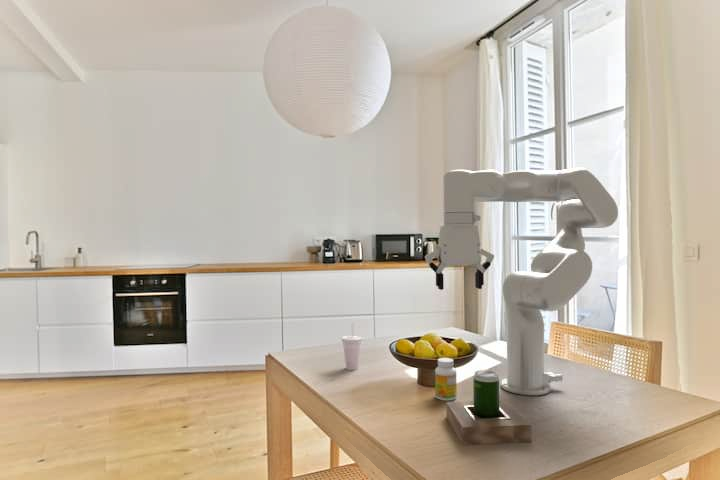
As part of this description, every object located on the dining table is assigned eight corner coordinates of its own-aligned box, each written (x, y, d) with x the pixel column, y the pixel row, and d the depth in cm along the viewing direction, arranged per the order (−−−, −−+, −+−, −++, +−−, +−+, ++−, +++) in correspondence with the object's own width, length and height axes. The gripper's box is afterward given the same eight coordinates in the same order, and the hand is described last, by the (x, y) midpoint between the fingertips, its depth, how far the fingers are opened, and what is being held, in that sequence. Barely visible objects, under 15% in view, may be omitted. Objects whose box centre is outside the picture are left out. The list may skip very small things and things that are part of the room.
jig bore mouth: (497, 405, 107) (497, 404, 107) (510, 419, 99) (510, 418, 99) (463, 406, 106) (463, 405, 106) (473, 420, 99) (473, 419, 99)
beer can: (487, 436, 99) (487, 379, 99) (468, 427, 104) (468, 372, 103) (504, 430, 102) (504, 374, 102) (485, 421, 107) (485, 368, 106)
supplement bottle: (431, 395, 124) (430, 358, 124) (448, 392, 126) (448, 356, 126) (442, 402, 119) (442, 363, 119) (460, 399, 121) (460, 361, 121)
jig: (506, 415, 110) (506, 400, 110) (531, 442, 96) (531, 424, 96) (446, 417, 109) (446, 402, 109) (463, 444, 95) (462, 427, 95)
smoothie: (366, 367, 150) (365, 323, 150) (355, 372, 145) (354, 326, 144) (349, 364, 154) (348, 321, 153) (337, 369, 148) (337, 324, 148)
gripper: (488, 220, 123) (488, 286, 123) (422, 221, 122) (422, 287, 122) (498, 219, 116) (498, 290, 116) (427, 220, 115) (428, 291, 115)
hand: (459, 288), depth 119 cm, fingers open, 9 cm apart
